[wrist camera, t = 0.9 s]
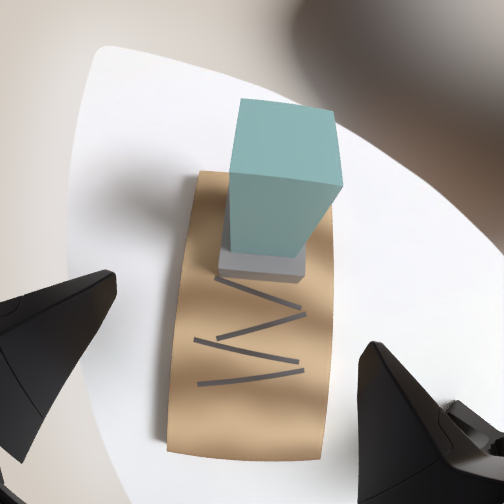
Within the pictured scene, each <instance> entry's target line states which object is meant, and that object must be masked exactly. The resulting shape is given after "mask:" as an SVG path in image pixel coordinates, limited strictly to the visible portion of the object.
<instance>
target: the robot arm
mask: <svg viewBox="0 0 504 504" xmlns="http://www.w3.org/2000/svg"><path fill="white" fill-rule="evenodd" d="M116 295H117V284H116V274H115V273H114V272H112V271H109V270H101V271H98V272H95V273H91V274H88V275H85V276H81V277H78V278H75V279H72V280H69V281H65V282H62V283H59V284H56V285H53V286H50V287H47V288H43V289H40V290H37V291H34V292H31V293H28V294H25V295H24V296H19V297H16V298H13V299H10V300H6V301H3V302H0V446H1V447H2V448H3V449H4V450H5V451H7V452H8V453H9V454H10V455H11V456H13V457H14V458H15V459H16V460H17V461H19V462H20V463H21V464H22V463H23V461H24V459H25V457H26V455H27V453H28V451H29V449H30V447H31V445H32V443H33V441H34V439H35V436H36V435H37V433H38V431H39V429H40V427H41V425H42V423H43V421H44V419H45V417H46V415H47V413H48V412H49V410H50V408H51V406H52V404H53V403H54V401H55V399H56V397H57V396H58V394H59V392H60V390H61V389H62V387H63V385H64V383H65V382H66V380H67V379H68V377H69V375H70V374H71V372H72V370H73V369H74V367H75V365H76V364H77V362H78V361H79V359H80V357H81V356H82V354H83V353H84V351H85V350H86V348H87V347H88V345H89V344H90V342H91V341H92V339H93V337H94V336H95V334H96V333H97V331H98V330H99V328H100V326H101V324H102V322H103V320H104V318H105V317H106V315H107V313H108V311H109V309H110V307H111V305H112V304H113V302H114V300H115V298H116ZM357 409H358V436H359V476H358V501H357V504H504V457H499V456H492V455H489V454H487V453H485V452H483V451H482V450H481V449H480V448H479V447H478V446H477V445H476V444H475V443H474V442H473V441H472V440H471V439H470V438H469V437H468V436H467V435H466V434H465V433H464V432H463V431H462V430H461V429H460V428H459V427H458V426H457V425H456V424H455V423H454V422H453V421H452V420H451V419H450V418H449V417H448V415H447V414H446V413H445V412H444V411H443V410H442V409H441V407H439V405H438V404H437V403H436V402H435V401H434V399H433V398H432V397H431V396H430V395H429V394H428V393H427V392H426V390H425V389H424V388H423V387H422V386H421V385H420V384H419V383H418V382H417V380H416V379H415V378H414V377H413V376H412V375H411V374H410V373H409V372H408V370H407V369H406V368H405V367H404V366H403V365H402V364H401V363H400V362H399V361H398V360H397V358H396V357H395V356H394V355H393V354H392V353H391V352H390V351H389V350H388V349H387V348H386V347H385V346H384V344H383V343H381V342H376V341H371V342H370V343H369V344H368V346H367V347H366V349H365V350H364V352H363V353H362V355H361V356H360V359H359V363H358V390H357ZM0 504H26V503H25V502H24V501H22V500H21V499H20V498H19V497H17V496H16V495H15V494H14V493H12V492H11V491H10V490H9V489H8V488H7V487H6V486H4V480H3V476H2V473H1V469H0Z"/></svg>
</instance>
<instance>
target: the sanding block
mask: <svg viewBox="0 0 504 504" xmlns="http://www.w3.org/2000/svg"><path fill="white" fill-rule="evenodd" d="M342 187H343V179H342V170H341V161H340V153H339V146H338V138H337V132H336V125H335V119H334V113H333V111H329V110H324V109H319V108H313V107H307V106H302V105H295V104H288V103H281V102H273V101H264V100H254V99H242V98H241V102H240V107H239V113H238V119H237V125H236V132H235V138H234V144H233V151H232V157H231V164H230V170H229V186H228V193H227V201H226V208H225V216H224V223H223V231H222V239H221V247H220V256H219V264H218V271H219V276H220V277H225V278H236V279H247V280H258V281H270V282H282V283H294V284H298V283H299V282H300V281H301V280H302V279H303V278H304V277H305V266H306V242H307V240H308V239H309V237H310V236H311V234H312V233H313V231H314V230H315V228H316V227H317V225H318V224H319V222H320V221H321V219H322V218H323V216H324V215H325V213H326V212H327V210H328V209H329V207H330V206H331V204H332V203H333V201H334V200H335V198H336V197H337V195H338V193H339V192H340V190H341V189H342Z"/></svg>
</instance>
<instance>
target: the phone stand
mask: <svg viewBox="0 0 504 504" xmlns="http://www.w3.org/2000/svg"><path fill="white" fill-rule="evenodd" d="M445 413H446V414H447V415H448V417H449V418H450V419H451V420H452V421H453V422H454V423H455V424H456V425H457V426H458V427H459V428H460V429H461V430H462V431H463V432H464V433H465V434H466V435H467V436H468V437H469V438H470V439H471V440H472V441H473V442H474V443H475V444H476V445H477V446H478V447H479V448H480V449H481V450H482V451H483V452H485V453H487V454H489V455H492V456H499V457H504V433H503V432H500V431H498V430H496V429H495V428H494V427H493V426H491V425H490V424H489V423H487V422H486V421H485V420H484V419H482V418H481V417H480V416H478V415H477V414H476V413H475V412H473V411H472V410H471V409H469V408H468V407H467V406H465V405H464V404H463V403H462V402H460V401H459V400H457V401H455V402H454V403H453V404H452V405H451V406H450V407H449V408H448V409H447V411H446V412H445Z"/></svg>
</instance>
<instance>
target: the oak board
mask: <svg viewBox="0 0 504 504" xmlns="http://www.w3.org/2000/svg"><path fill="white" fill-rule="evenodd" d="M228 186H229V173H226V172H213V171H200V172H199V176H198V181H197V186H196V191H195V196H194V201H193V207H192V212H191V218H190V223H189V229H188V235H187V241H186V247H185V253H184V260H183V266H182V273H181V280H180V288H179V295H178V303H177V311H176V320H175V329H174V339H173V349H172V360H171V373H170V387H169V404H168V426H167V451H168V452H174V453H179V454H186V455H192V456H199V457H207V458H216V459H227V460H241V461H304V460H318V459H320V457H321V450H322V444H323V436H324V429H325V421H326V412H327V402H328V392H329V381H330V368H331V352H332V333H333V298H334V258H333V223H332V204H331V206H330V207H329V209H328V210H327V212H326V213H325V215H324V216H323V218H322V219H321V221H320V222H319V224H318V225H317V227H316V228H315V230H314V231H313V233H312V234H311V236H310V237H309V239H308V240H307V242H306V266H305V277H304V278H303V279H302V280H301V281H300V282H299V283H298V284H294V283H282V282H270V281H258V280H247V279H236V278H225V277H220V276H219V271H218V264H219V256H220V247H221V239H222V231H223V223H224V216H225V208H226V201H227V193H228Z"/></svg>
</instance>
